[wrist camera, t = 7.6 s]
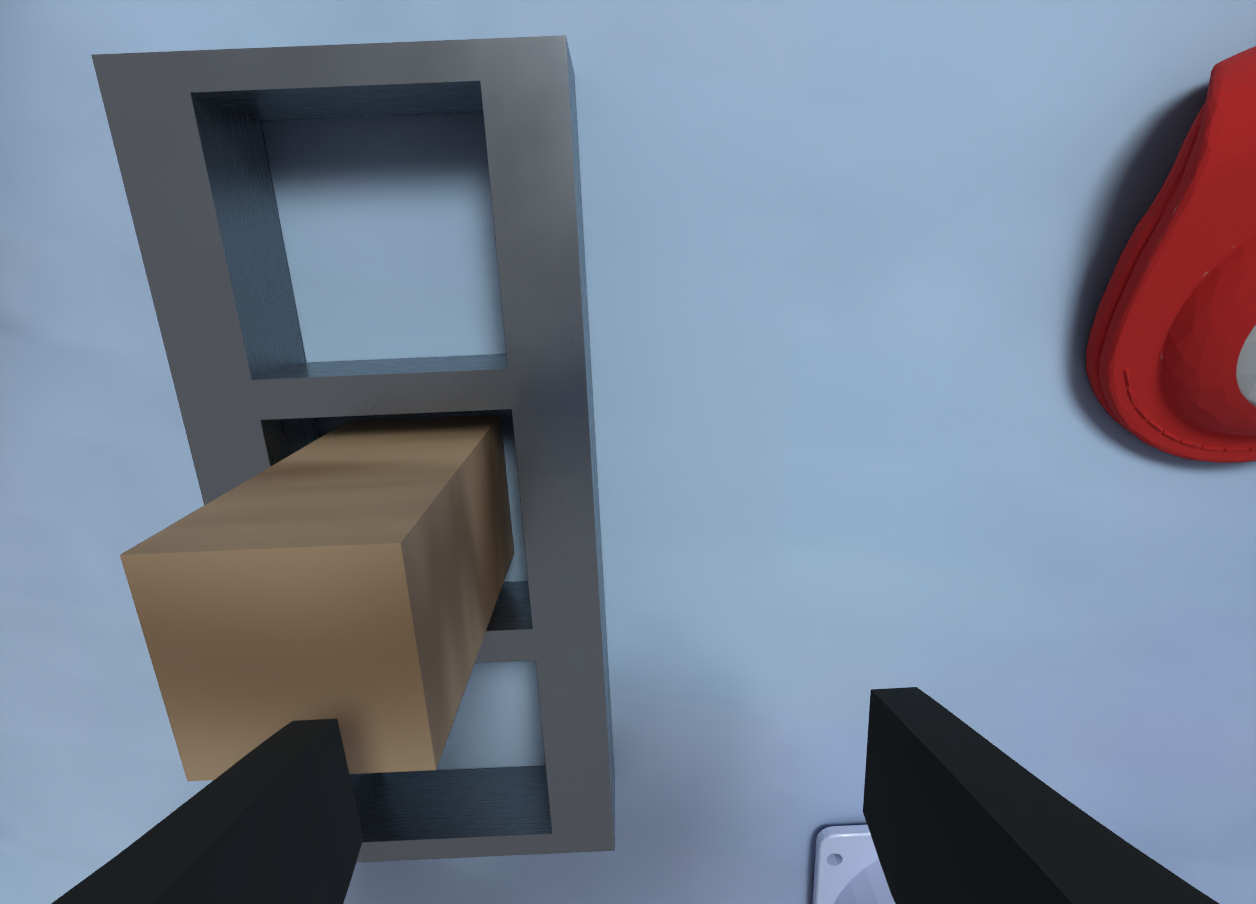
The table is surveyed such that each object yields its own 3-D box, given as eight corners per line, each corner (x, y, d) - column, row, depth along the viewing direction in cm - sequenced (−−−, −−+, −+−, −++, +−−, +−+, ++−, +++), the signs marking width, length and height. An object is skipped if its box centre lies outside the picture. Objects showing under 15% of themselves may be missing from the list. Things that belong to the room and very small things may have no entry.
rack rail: (614, 780, 20) (614, 850, 18) (333, 793, 20) (294, 865, 18) (574, 73, 14) (565, 35, 12) (179, 89, 14) (90, 54, 12)
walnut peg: (514, 551, 18) (436, 770, 10) (372, 558, 18) (187, 781, 10) (500, 414, 17) (400, 542, 9) (349, 420, 17) (119, 555, 9)
